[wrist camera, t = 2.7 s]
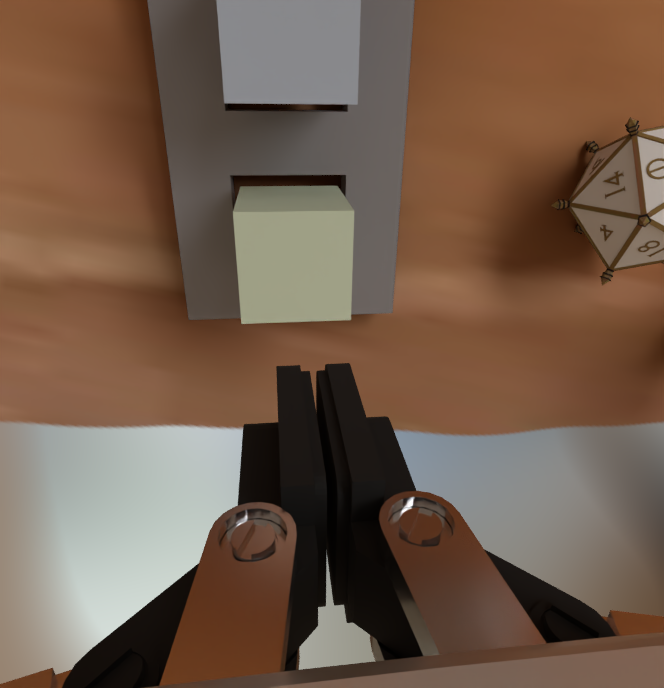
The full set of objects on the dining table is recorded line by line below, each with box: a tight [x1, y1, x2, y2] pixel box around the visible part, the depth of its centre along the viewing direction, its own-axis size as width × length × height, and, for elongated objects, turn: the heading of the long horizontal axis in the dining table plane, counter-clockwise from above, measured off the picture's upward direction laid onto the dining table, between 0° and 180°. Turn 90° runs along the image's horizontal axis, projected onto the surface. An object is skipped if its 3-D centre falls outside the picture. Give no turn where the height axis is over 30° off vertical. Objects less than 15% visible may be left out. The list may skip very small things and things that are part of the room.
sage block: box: [233, 186, 354, 324], centre depth 25 cm, size 5×5×6 cm
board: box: [147, 0, 415, 320], centre depth 24 cm, size 28×12×2 cm, turn 179°
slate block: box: [216, 0, 361, 105], centre depth 20 cm, size 5×5×6 cm
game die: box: [551, 117, 664, 285], centre depth 27 cm, size 9×8×10 cm
